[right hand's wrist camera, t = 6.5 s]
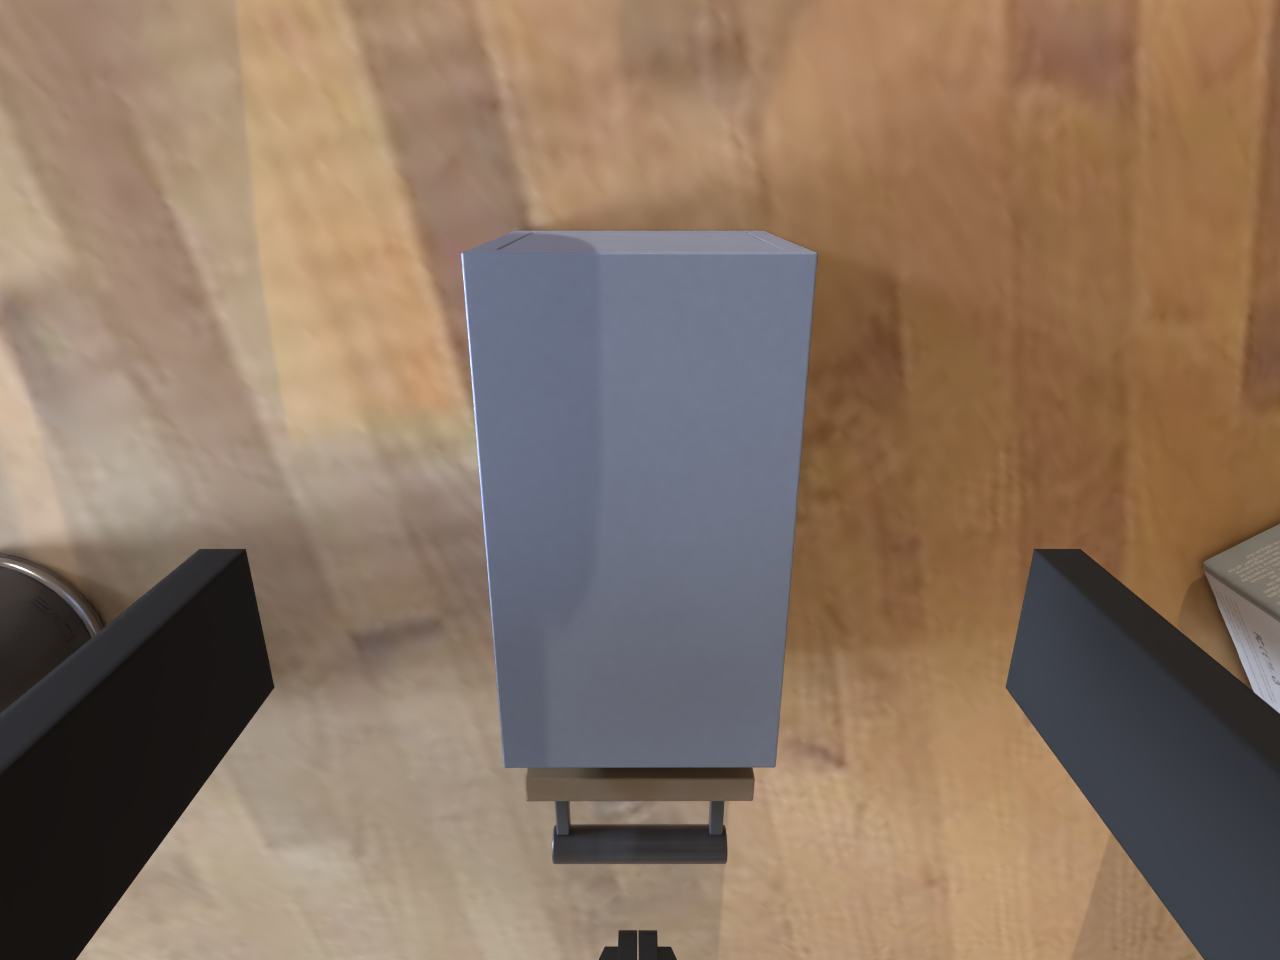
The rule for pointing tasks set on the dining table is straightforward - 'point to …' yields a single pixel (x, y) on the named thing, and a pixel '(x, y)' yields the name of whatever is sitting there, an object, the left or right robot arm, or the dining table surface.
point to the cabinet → (639, 488)
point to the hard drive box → (1252, 607)
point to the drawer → (640, 838)
